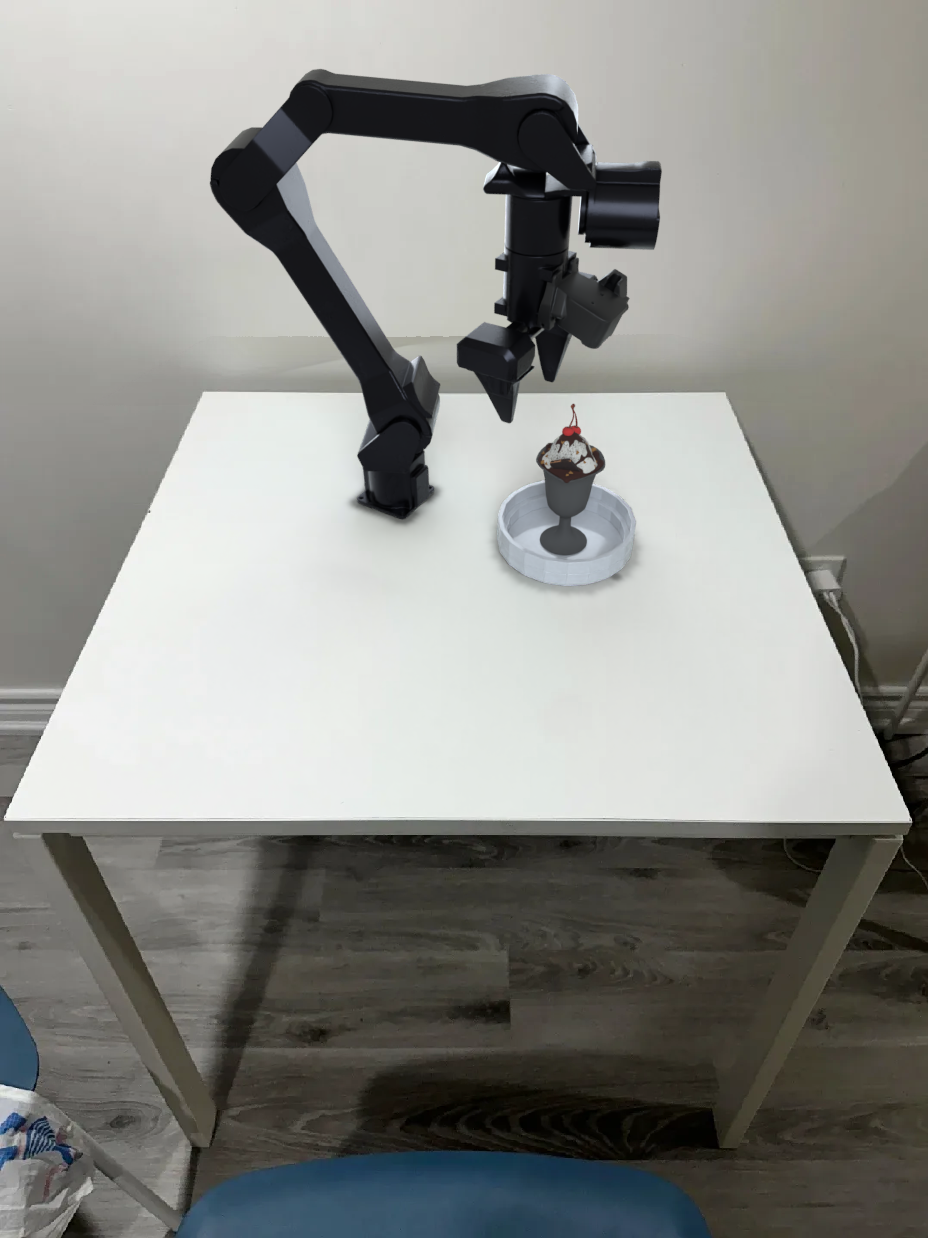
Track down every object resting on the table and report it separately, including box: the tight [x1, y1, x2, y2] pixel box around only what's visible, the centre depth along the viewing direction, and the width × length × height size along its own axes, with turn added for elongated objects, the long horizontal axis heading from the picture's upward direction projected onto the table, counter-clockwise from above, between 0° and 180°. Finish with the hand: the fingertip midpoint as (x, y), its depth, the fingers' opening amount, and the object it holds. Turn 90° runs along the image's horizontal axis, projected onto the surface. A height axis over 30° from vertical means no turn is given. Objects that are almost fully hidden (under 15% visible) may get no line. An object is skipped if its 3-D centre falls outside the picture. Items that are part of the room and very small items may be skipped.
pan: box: [496, 479, 637, 587], centre depth 92 cm, size 14×14×4 cm
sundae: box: [535, 403, 606, 555], centre depth 88 cm, size 7×7×15 cm
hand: (528, 400), depth 89 cm, fingers open, 9 cm apart
